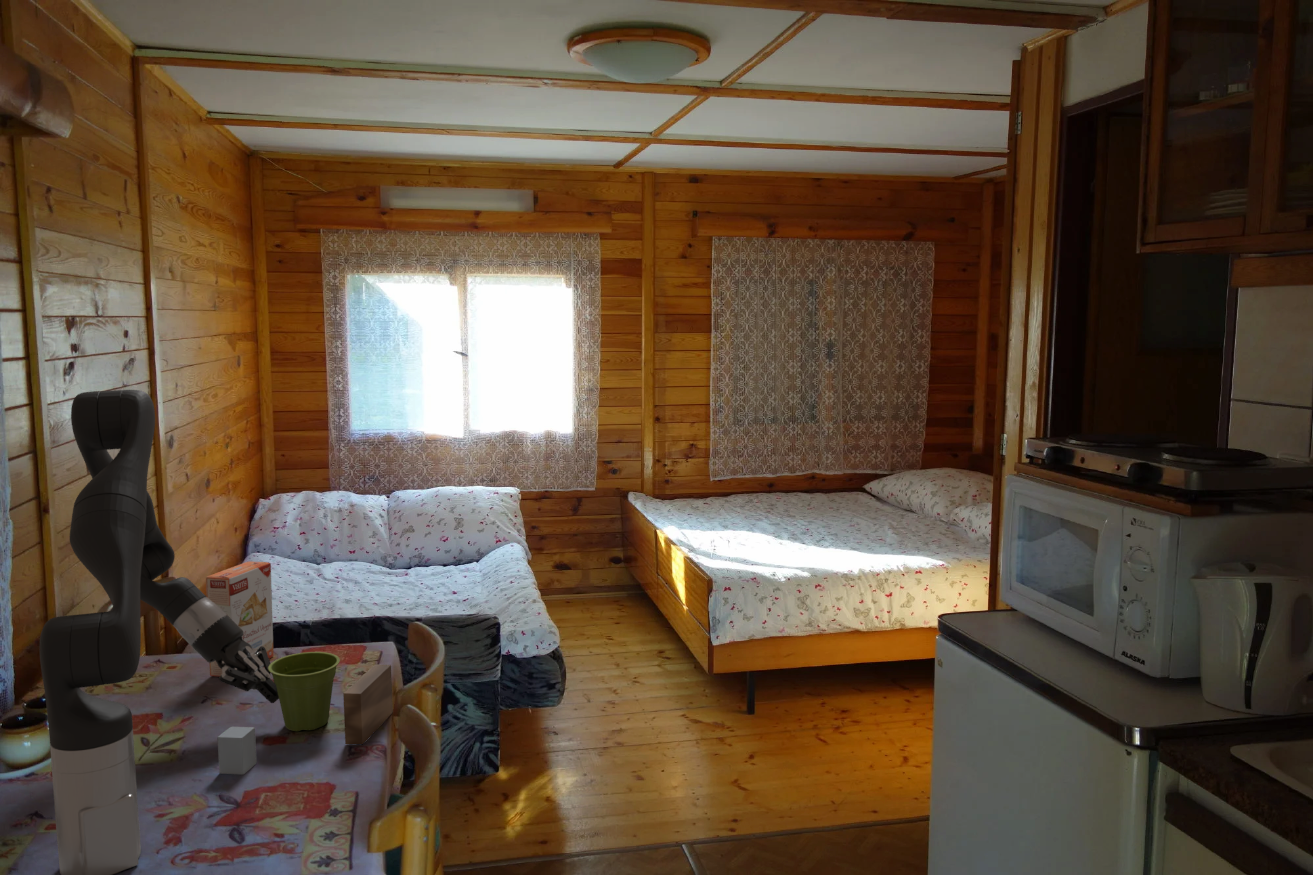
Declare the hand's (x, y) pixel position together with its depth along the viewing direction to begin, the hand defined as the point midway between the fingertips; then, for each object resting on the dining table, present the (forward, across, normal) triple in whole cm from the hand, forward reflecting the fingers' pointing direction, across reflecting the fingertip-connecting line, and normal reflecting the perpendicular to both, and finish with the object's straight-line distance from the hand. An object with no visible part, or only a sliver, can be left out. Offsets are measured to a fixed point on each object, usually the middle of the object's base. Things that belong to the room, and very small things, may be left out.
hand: (278, 698), depth 167 cm
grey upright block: (+4, -17, +2) cm, 17 cm away
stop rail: (+15, 0, -8) cm, 17 cm away
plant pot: (+7, +1, 0) cm, 7 cm away
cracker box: (-12, +28, +19) cm, 36 cm away
